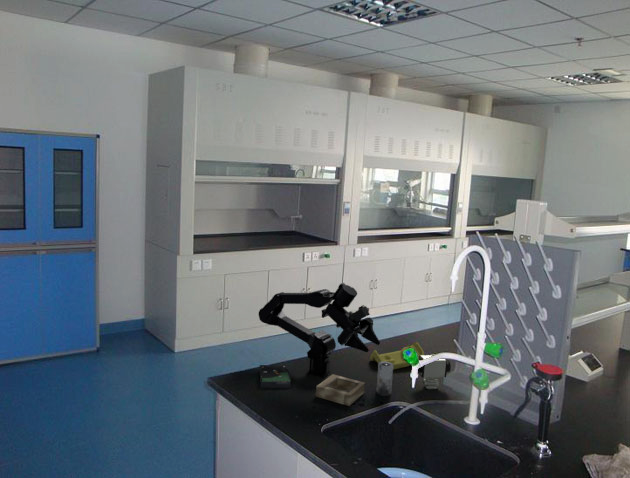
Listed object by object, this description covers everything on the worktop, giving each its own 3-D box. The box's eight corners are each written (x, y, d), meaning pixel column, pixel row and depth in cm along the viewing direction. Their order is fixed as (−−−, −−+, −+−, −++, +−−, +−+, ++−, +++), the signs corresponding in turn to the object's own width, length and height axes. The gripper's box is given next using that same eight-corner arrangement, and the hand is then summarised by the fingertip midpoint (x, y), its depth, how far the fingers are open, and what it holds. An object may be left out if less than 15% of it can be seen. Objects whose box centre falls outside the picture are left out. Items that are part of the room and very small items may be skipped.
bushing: (374, 393, 172) (376, 364, 170) (379, 388, 176) (381, 360, 175) (388, 397, 169) (390, 368, 168) (393, 391, 174) (395, 363, 172)
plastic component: (385, 366, 190) (372, 347, 197) (380, 380, 194) (368, 360, 201) (428, 357, 198) (415, 339, 205) (423, 370, 202) (410, 352, 209)
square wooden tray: (315, 396, 167) (316, 385, 166) (332, 383, 177) (332, 373, 177) (349, 406, 161) (350, 395, 161) (364, 392, 172) (364, 382, 171)
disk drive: (258, 372, 185) (260, 389, 171) (259, 364, 185) (260, 381, 171) (287, 372, 187) (291, 388, 172) (287, 364, 187) (291, 380, 172)
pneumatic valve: (448, 390, 178) (452, 357, 176) (416, 390, 176) (419, 357, 174) (442, 383, 183) (445, 351, 182) (411, 383, 181) (414, 351, 180)
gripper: (340, 305, 168) (375, 337, 163) (364, 295, 184) (397, 324, 179) (323, 329, 173) (357, 361, 167) (348, 317, 189) (380, 346, 183)
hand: (373, 347), depth 174 cm, fingers open, 9 cm apart
